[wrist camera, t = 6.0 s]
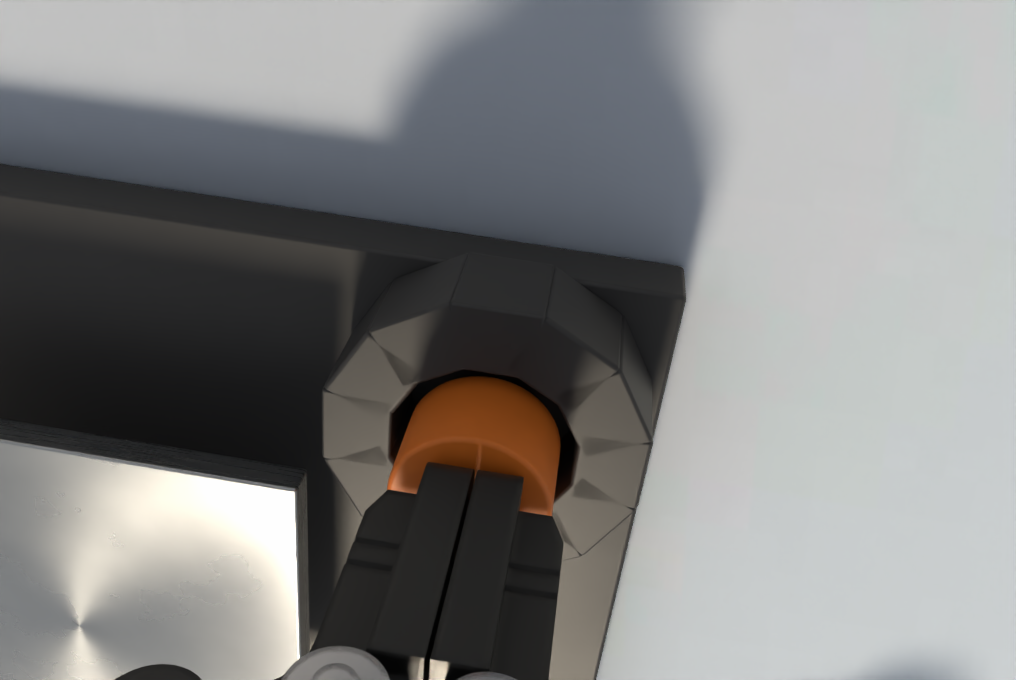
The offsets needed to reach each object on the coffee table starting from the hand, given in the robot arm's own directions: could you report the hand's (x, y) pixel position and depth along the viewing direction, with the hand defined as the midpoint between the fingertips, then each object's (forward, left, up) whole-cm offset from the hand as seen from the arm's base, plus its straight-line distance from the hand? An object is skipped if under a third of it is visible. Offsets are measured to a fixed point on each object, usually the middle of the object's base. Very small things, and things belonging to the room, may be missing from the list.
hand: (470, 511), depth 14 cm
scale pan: (+8, +5, -1) cm, 9 cm away
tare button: (0, 0, -2) cm, 2 cm away
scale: (+5, +4, -4) cm, 8 cm away
